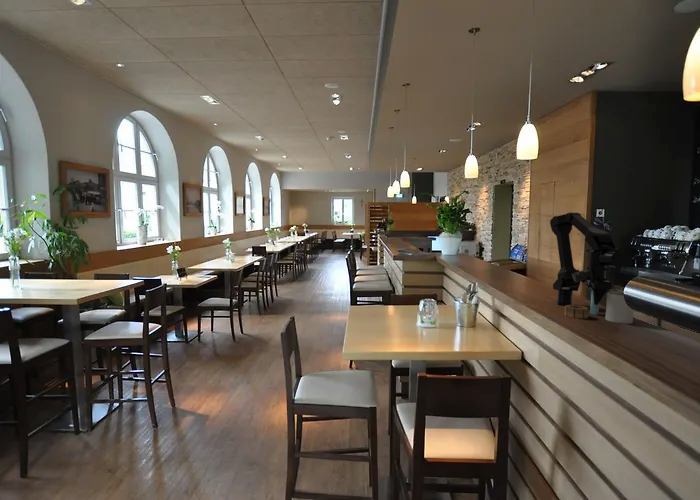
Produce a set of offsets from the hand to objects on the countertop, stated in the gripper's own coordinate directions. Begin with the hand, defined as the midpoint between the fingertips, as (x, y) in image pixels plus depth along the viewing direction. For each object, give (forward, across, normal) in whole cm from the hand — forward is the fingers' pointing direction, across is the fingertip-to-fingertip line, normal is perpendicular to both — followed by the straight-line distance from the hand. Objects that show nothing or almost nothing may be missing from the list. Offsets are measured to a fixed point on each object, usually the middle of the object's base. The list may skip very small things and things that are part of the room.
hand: (594, 303), depth 160 cm
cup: (+4, +9, +6) cm, 12 cm away
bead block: (+4, +7, -8) cm, 11 cm away
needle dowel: (+4, 0, 0) cm, 4 cm away
